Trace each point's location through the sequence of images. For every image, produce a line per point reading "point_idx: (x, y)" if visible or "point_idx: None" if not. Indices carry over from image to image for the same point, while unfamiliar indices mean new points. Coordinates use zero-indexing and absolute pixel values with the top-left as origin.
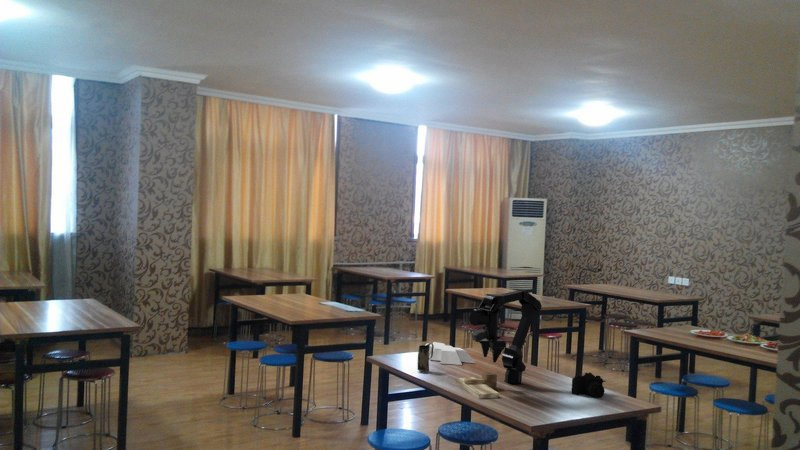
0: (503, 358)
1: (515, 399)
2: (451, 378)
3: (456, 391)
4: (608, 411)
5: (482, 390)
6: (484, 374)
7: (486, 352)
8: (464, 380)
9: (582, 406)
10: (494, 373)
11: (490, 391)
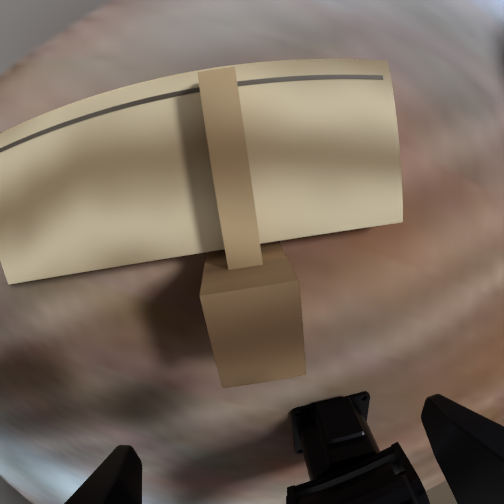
0: (392, 496)
1: (27, 349)
2: (456, 90)
3: (144, 16)
4: (35, 500)
5: (37, 186)
6: (247, 285)
7: (450, 459)
8: (226, 69)
9: (46, 486)
10: (257, 377)
11: (25, 239)
